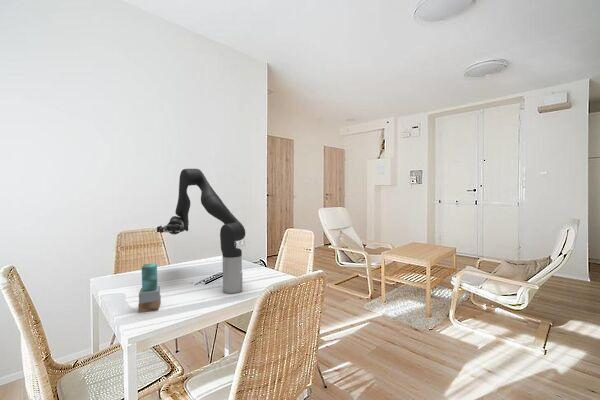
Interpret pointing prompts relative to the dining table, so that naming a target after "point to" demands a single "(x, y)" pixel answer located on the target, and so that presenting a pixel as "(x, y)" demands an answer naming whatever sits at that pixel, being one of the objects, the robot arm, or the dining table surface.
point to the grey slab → (149, 295)
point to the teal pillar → (149, 277)
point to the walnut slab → (149, 306)
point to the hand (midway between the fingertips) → (171, 230)
